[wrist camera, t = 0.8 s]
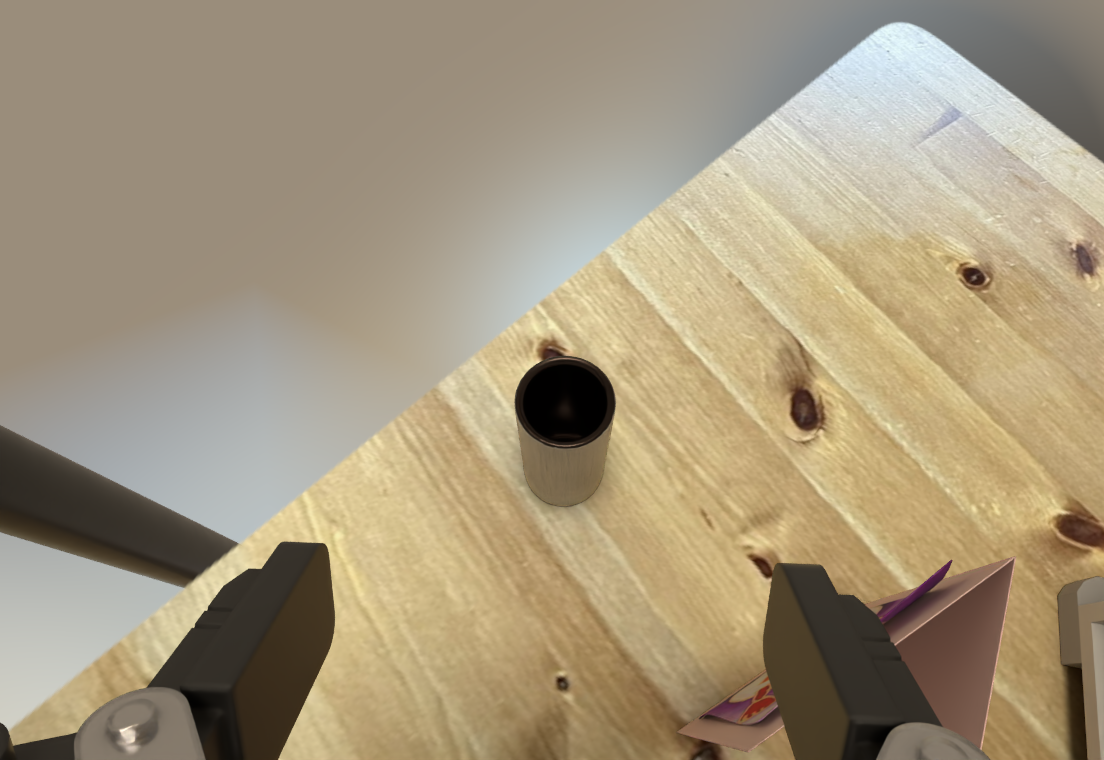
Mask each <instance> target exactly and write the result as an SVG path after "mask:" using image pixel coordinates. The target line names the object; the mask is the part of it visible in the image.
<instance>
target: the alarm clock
mask: <svg viewBox="0 0 1104 760" xmlns="http://www.w3.org/2000/svg"><path fill="white" fill-rule="evenodd" d="M1058 609H1059V628H1060V647H1061V664H1063V665H1067V666H1072V667H1076V668H1080V669H1082V676H1083V692H1084V708H1085V724H1086V740H1087V756H1088V760H1104V578H1103V577H1098V576H1097V577H1093V578H1088V579H1084V580H1080V581H1076V582H1074V583H1071V584H1068V585H1065V586H1064V587H1063V589H1062V590H1061V592H1060V593H1059V595H1058Z"/></svg>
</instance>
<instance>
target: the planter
mask: <svg viewBox="0 0 1104 760" xmlns="http://www.w3.org/2000/svg"><path fill="white" fill-rule="evenodd" d="M615 407H616V399H615V393H614V389H613V387H612V384H611V382H610V381H609V379H608V377H607V376H606V375H605V374H604V373H603V372H602V371H601V370H600V369H599V368H598V367H597V366H595V365H594V364H592V363H591V362H589V361H586V360H584V359H581V358H577V357H572V356H558V357H553V358H549V359H546V360H544V361H541V362H539V363H538V364H536V365H535V366H533V367H532V368H531V369H530V370H529V371H528V372H527V373H526V374H525V375H524V376H523V378H522V379H521V381H520V383H519V385H518V387H517V390H516V394H515V413H516V420H517V426H518V433H519V440H520V447H521V453H522V460H523V467H524V473H525V477H526V480H527V482H528V485H529V487H530V488H531V490H532V491H533V492H534V493H535V494H536V495H537V496H538V497H539V498H540V499H542V500H543V501H545V502H547V503H549V504H552V505H556V506H571V505H575V504H578V503H581V502H583V501H584V500H586V499H587V498H589V497H590V496H591V495H592V494H593V493H594V492H595V490H596V489H597V487H598V485H599V483H600V481H601V478H602V475H603V471H604V465H605V460H606V455H607V450H608V445H609V440H610V435H611V430H612V425H613V419H614V414H615Z"/></svg>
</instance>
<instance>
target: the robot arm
mask: <svg viewBox="0 0 1104 760" xmlns="http://www.w3.org/2000/svg"><path fill="white" fill-rule="evenodd" d="M334 626H335V611H334V601H333V590H332V580H331V570H330V560H329V552H328V548H327V546H326V545H325V544H324V543H304V542H281V543H280V544H279V545H278V546H277V548H276V549H275V551H274V552H273V553H272V555H271V556H270V558H269V559H268V561H267V562H266V563H265V565H264V566H263V568H262V569H248V570H246V571H245V572H243V573H242V574H240V575H239V576H237V577H236V578H235V579H233V580H232V581H230V582H229V583H227V584H226V585H224V586H223V588H222V589H221V590H220V592H219V593H218V594H217V595H216V597H215V598H214V599H213V601H212V602H211V603H210V605H209V606H208V610H207V611H204V613H203V614H202V615H201V617H200V618H199V619H198V621H197V622H196V623H195V628H191V630H190V631H189V632H188V634H187V635H186V636H185V638H184V639H183V640H182V642H181V643H180V644H179V646H178V647H177V648H176V650H175V651H174V652H173V654H172V655H171V656H170V658H169V659H168V660H167V661H166V663H165V664H164V665H163V667H162V668H161V669H160V671H159V672H158V673H157V675H156V676H155V677H154V679H153V680H152V681H151V683H150V684H149V685H148V687H147V688H144V689H139V690H135V691H132V692H129V693H126V694H124V695H121V696H119V697H117V698H115V699H113V700H111V701H109V702H108V703H106V704H104V705H103V706H101V707H100V708H99V709H97V710H96V711H95V712H94V713H92V714H91V715H90V716H89V717H88V718H87V719H86V720H85V722H84V723H83V724H82V726H81V727H80V729H79V730H78V732H77V733H73V734H69V735H64V736H59V737H54V738H49V739H44V740H39V741H34V742H30V743H25V744H20V745H15V746H13V745H12V741H11V738H10V735H9V732H8V730H7V728H6V727H5V726H4V725H3V724H1V723H0V760H278V758H279V756H280V754H281V752H282V750H283V747H284V745H285V743H286V741H287V739H288V737H289V735H290V733H291V730H292V728H293V726H294V724H295V722H296V720H297V718H298V716H299V713H300V711H301V709H302V707H303V705H304V703H305V701H306V699H307V696H308V694H309V692H310V690H311V688H312V686H313V684H314V682H315V679H316V677H317V675H318V673H319V671H320V669H321V667H322V665H323V662H324V660H325V658H326V656H327V654H328V652H329V649H330V646H331V643H332V639H333V634H334ZM763 653H764V662H765V667H766V671H767V675H768V678H769V681H770V684H771V687H772V690H773V693H774V696H775V699H776V702H777V705H778V708H779V711H780V714H781V717H782V720H783V723H784V726H785V729H786V732H787V735H788V738H789V741H790V744H791V747H792V750H793V753H794V756H795V759H796V760H990V759H989V758H988V756H987V755H986V754H985V753H984V752H983V751H982V750H981V749H979V748H978V747H977V746H976V745H975V744H973V743H972V742H970V741H969V740H967V739H966V738H964V737H963V736H961V735H959V734H957V733H955V732H953V731H951V730H948V729H946V728H943V726H942V724H941V723H940V721H939V719H938V718H937V716H936V714H935V712H934V711H933V709H932V707H931V706H930V704H929V702H928V701H927V699H926V697H925V695H924V694H923V692H922V690H921V689H920V687H919V685H918V684H917V682H916V680H915V678H914V677H913V675H912V673H911V672H910V670H909V668H908V667H907V665H906V663H905V662H904V661H902V659H901V657H902V656H901V655H900V653H899V651H898V650H897V648H896V646H895V645H894V643H893V642H891V640H890V636H889V634H888V633H887V631H886V629H885V628H884V626H883V624H882V622H881V621H880V619H879V617H878V616H877V615H876V614H875V613H874V612H873V611H872V610H870V609H869V608H868V607H867V606H866V605H865V604H863V603H862V602H861V601H860V600H859V599H857V598H856V597H855V596H854V595H838V593H837V592H836V590H835V588H834V586H833V584H832V582H831V580H830V578H829V577H828V575H827V573H826V571H825V569H824V568H823V567H822V566H821V565H816V564H791V563H777V564H776V565H775V568H774V571H773V575H772V582H771V589H770V595H769V602H768V609H767V615H766V622H765V629H764V636H763Z"/></svg>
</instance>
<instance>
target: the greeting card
mask: <svg viewBox="0 0 1104 760" xmlns="http://www.w3.org/2000/svg"><path fill="white" fill-rule="evenodd" d="M1015 561H1016V557H1011V558H1008V559H1005V560H1002V561H999V562H996V563H993V564H989V565H986V566H983V567H980V568H977V569H974V570H971V571H967V572H964V573H961V574H958V575H955V576H952V577H949V578H945V579H943V578H944V576H945V575H946V573H947V571H948V570H949V568H950V565H951V563H952V560H950V561H949V562H948V563H947V564H946V565H944V566H943V567H942V568H941V569H940V570H938V571H937V572H936V573H935V574H934V575H932V576H931V577H930V578H929V579H928V580H927V581H925V582H924V583H923V584H922V585H921V586H919V587H917V588H914V589H911V590H908V591H904V592H901V593H898V594H895V595H892V596H889V597H886V598H882V599H879V600H876V601H873V602H870V603H867V604H865V605H866V606H867V607H868V608H869V609H870V610H872V611H873V612H874V613H875V614H876V615H877V616H878V617H879V619H880V621H881V622H882V624H883V626H884V628H885V629H886V631H887V633H888V634H889V636H890V640H891V642H893V643H894V645H895V646H896V648H897V650H898V651H899V653H900V655H901V656H902V657H901V659H902V661H904V662H905V663H906V665H907V667H908V668H909V670H910V672H911V673H912V675H913V677H914V678H915V680H916V682H917V684H918V685H919V687H920V689H921V690H922V692H923V694H924V695H925V697H926V699H927V701H928V702H929V704H930V706H931V707H932V709H933V711H934V712H935V714H936V716H937V718H938V719H939V721H940V723H941V724H942V726H943V728H946V729H948V730H951V731H953V732H955V733H957V734H959V735H961V736H963V737H964V738H966V739H967V740H969V741H970V742H972V743H973V744H975V745H976V746H977V747H978V748H979V749H982V744H983V738H984V733H985V727H986V722H987V716H988V711H989V705H990V700H991V694H992V688H993V683H994V677H995V672H996V666H997V661H998V655H999V650H1000V644H1001V639H1002V633H1003V627H1004V622H1005V616H1006V611H1007V605H1008V600H1009V594H1010V589H1011V583H1012V578H1013V572H1014V566H1015ZM783 727H784V723H783V720H782V717H781V714H780V711H779V708H778V705H777V702H776V699H775V696H774V693H773V690H772V687H771V684H770V681H769V678H768V675H767V671H766V669H765V670H764V671H763V672H761V673H760V674H758V675H757V676H755V677H754V678H753V679H751V680H750V681H748V682H747V683H745V684H744V685H743V686H741V687H740V688H738V689H737V690H736V691H734V692H733V693H731V694H730V695H728V696H727V697H726V698H724V699H723V700H721V701H720V702H719V703H717V704H716V705H714V706H713V707H711V708H710V709H709V710H707V711H706V712H704V713H703V714H702V715H700V716H699V717H697V718H696V719H694V720H693V721H692V722H690V723H689V724H687V725H686V726H684V727H683V728H682V729H680V730H679V731H677V733H679V734H683V735H686V736H690V737H694V738H698V739H701V740H705V741H709V742H712V743H716V744H720V745H723V746H727V747H731V748H734V749H738V750H742V751H745V752H750V751H751V750H753V749H754V748H755V747H757V746H758V745H759V744H761V743H762V742H764V741H765V740H766V739H768V738H769V737H770V736H772V735H773V734H775V733H776V732H777V731H779V730H780V729H781V728H783Z"/></svg>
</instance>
